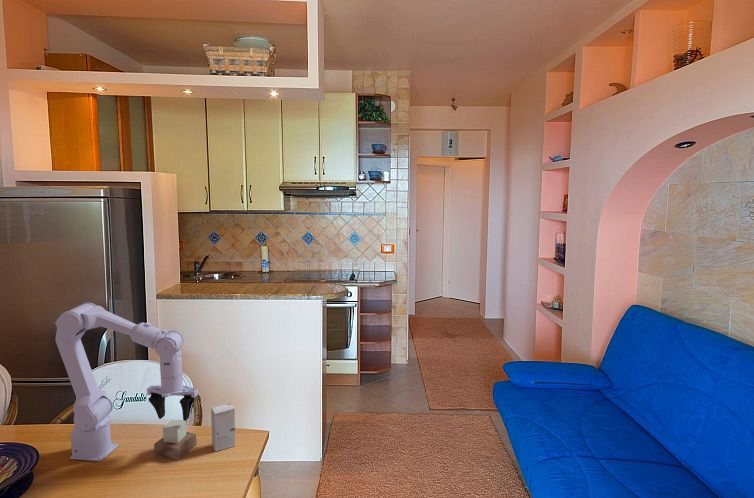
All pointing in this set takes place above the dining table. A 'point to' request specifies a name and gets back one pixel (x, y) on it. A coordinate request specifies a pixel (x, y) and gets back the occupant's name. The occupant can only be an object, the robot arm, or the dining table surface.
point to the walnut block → (175, 447)
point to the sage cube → (174, 431)
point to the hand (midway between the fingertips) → (174, 418)
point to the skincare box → (223, 426)
